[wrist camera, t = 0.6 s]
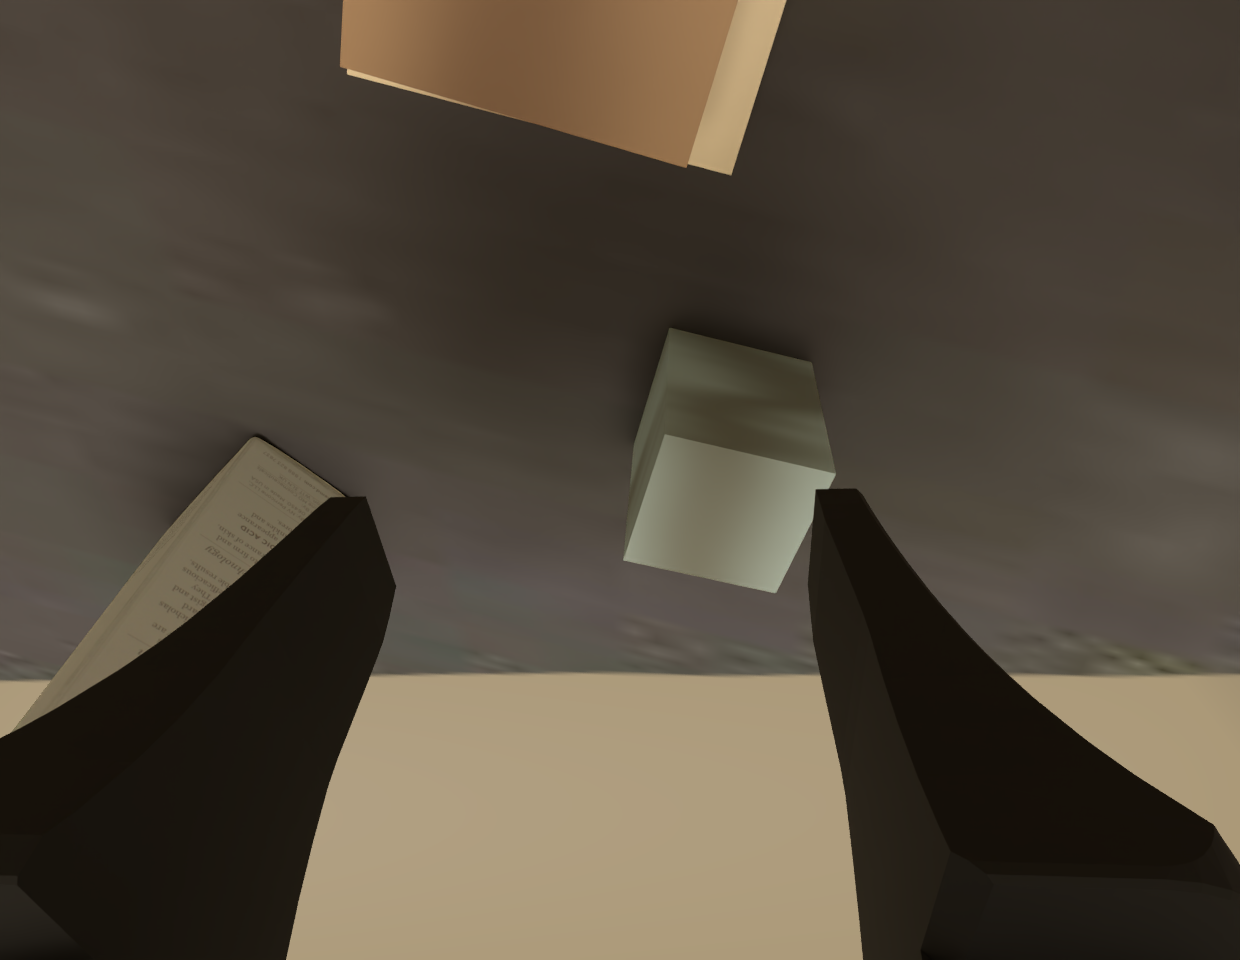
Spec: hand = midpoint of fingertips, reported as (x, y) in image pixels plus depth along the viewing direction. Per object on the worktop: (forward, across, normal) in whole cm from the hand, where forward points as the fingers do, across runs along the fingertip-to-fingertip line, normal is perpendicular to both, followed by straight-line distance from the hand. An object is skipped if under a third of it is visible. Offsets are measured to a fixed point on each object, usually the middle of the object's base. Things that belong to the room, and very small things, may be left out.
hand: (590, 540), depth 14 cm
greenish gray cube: (+10, -2, +4) cm, 11 cm away
